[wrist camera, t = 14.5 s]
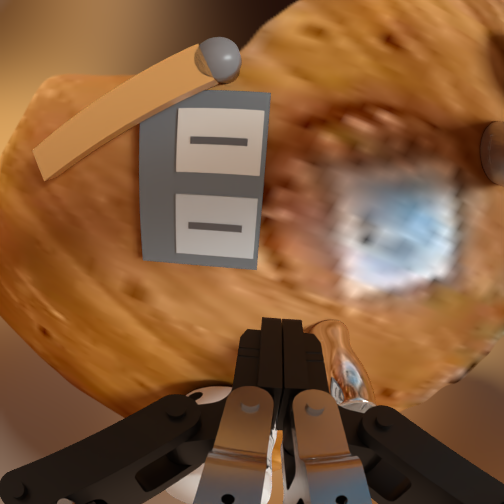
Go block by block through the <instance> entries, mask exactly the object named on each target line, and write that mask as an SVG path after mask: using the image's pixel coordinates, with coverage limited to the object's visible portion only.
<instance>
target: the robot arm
mask: <svg viewBox="0 0 504 504" xmlns="http://www.w3.org/2000/svg"><path fill="white" fill-rule="evenodd" d="M480 154H481V161H482V166H483V168H484V171H485V173H486V175H487V177H488V178H489V179H490V180H491V181H492V182H494V183H495V184H498V185H501V186H503V187H504V122H501V121H497V122H493V123H491V124H490V125H489V126H488V127H487V128H486V130H485V132H484V134H483V137H482V140H481V149H480ZM322 353H323V352H322V346H321V342H320V341H319V339H318V338H317V337H316V336H315V334H311V333H303V327H302V321H301V320H293V319H282V323H281V319H278V318H265V317H262V324H261V330H252V329H247V330H246V331H245V332H244V334H243V335H242V336H241V337H240V343H239V349H238V357H237V362H236V369H235V375H234V381H233V387H232V390H231V392H230V393H229V394H228V395H227V396H226V397H225V398H224V399H222V400H220V401H217V402H213V403H207V404H199V405H198V404H197V403H196V401H195V400H193V399H192V398H190V397H188V396H185V395H179V394H173V395H168V396H165V397H163V398H161V399H159V400H158V401H156V402H154V403H152V404H150V405H149V406H147V407H145V408H143V409H141V410H140V411H138V412H136V413H134V414H132V415H130V416H128V417H127V418H125V419H123V420H121V421H119V422H117V423H115V424H113V425H111V426H109V427H107V428H105V429H103V430H101V431H100V432H97V433H96V434H94V435H91V436H89V437H87V438H85V439H83V440H81V441H79V442H77V443H75V444H73V445H70V446H68V447H66V448H64V449H62V450H59V451H57V452H55V453H53V454H51V455H49V456H46V457H44V458H41V459H39V460H37V461H34V462H32V463H29V464H27V465H24V466H22V467H20V468H17V469H14V470H12V471H10V472H7V473H6V474H5V475H4V476H3V477H2V479H1V481H0V497H1V499H2V501H3V502H4V503H5V504H142V503H144V502H146V501H147V500H149V499H151V498H152V497H154V496H156V495H157V494H159V493H161V492H162V491H164V490H165V489H167V488H169V487H170V486H172V485H173V484H175V483H176V482H178V481H179V480H181V479H182V478H184V477H185V476H187V475H188V474H190V473H191V472H193V471H194V470H196V469H197V468H198V467H200V466H201V465H202V464H203V463H205V464H204V468H203V471H202V475H201V478H200V481H199V485H198V488H197V491H196V495H195V498H194V501H193V504H261V498H262V492H263V486H264V479H265V472H266V465H267V452H268V445H269V437H270V433H271V430H274V426H275V421H276V430H283V441H282V444H281V461H282V473H283V486H284V500H283V504H372V501H371V498H372V499H373V500H374V501H376V502H377V503H378V504H504V484H503V483H501V482H500V481H498V480H497V479H495V478H494V477H492V476H490V475H489V474H487V473H486V472H484V471H483V470H481V469H480V468H478V467H477V466H475V465H474V464H472V463H471V462H469V461H468V460H466V459H465V458H463V457H462V456H460V455H459V454H457V453H456V452H454V451H453V450H451V449H450V448H449V447H447V446H446V445H444V444H443V443H441V442H440V441H438V440H437V439H436V438H434V437H433V436H431V435H430V434H428V433H427V432H426V431H424V430H423V429H421V428H420V427H419V426H417V425H416V424H414V423H413V422H411V421H410V420H409V419H407V418H406V417H405V416H403V415H402V414H400V413H399V412H398V411H396V410H395V409H393V408H391V407H388V406H383V405H379V406H374V407H371V408H369V409H368V410H367V411H366V412H365V413H361V412H357V411H353V410H349V409H346V408H343V407H341V406H340V405H338V404H337V402H336V400H335V399H334V398H333V397H332V396H331V395H330V392H329V387H328V381H327V375H326V369H325V363H324V357H323V354H322Z"/></svg>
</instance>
